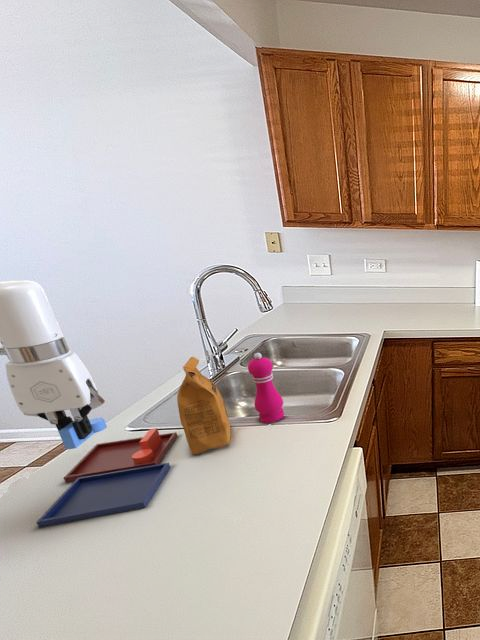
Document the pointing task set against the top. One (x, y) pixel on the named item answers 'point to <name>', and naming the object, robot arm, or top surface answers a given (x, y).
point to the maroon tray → (117, 457)
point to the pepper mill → (265, 390)
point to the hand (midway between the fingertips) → (79, 436)
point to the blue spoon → (72, 438)
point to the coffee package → (202, 411)
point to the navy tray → (105, 494)
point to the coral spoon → (147, 447)
